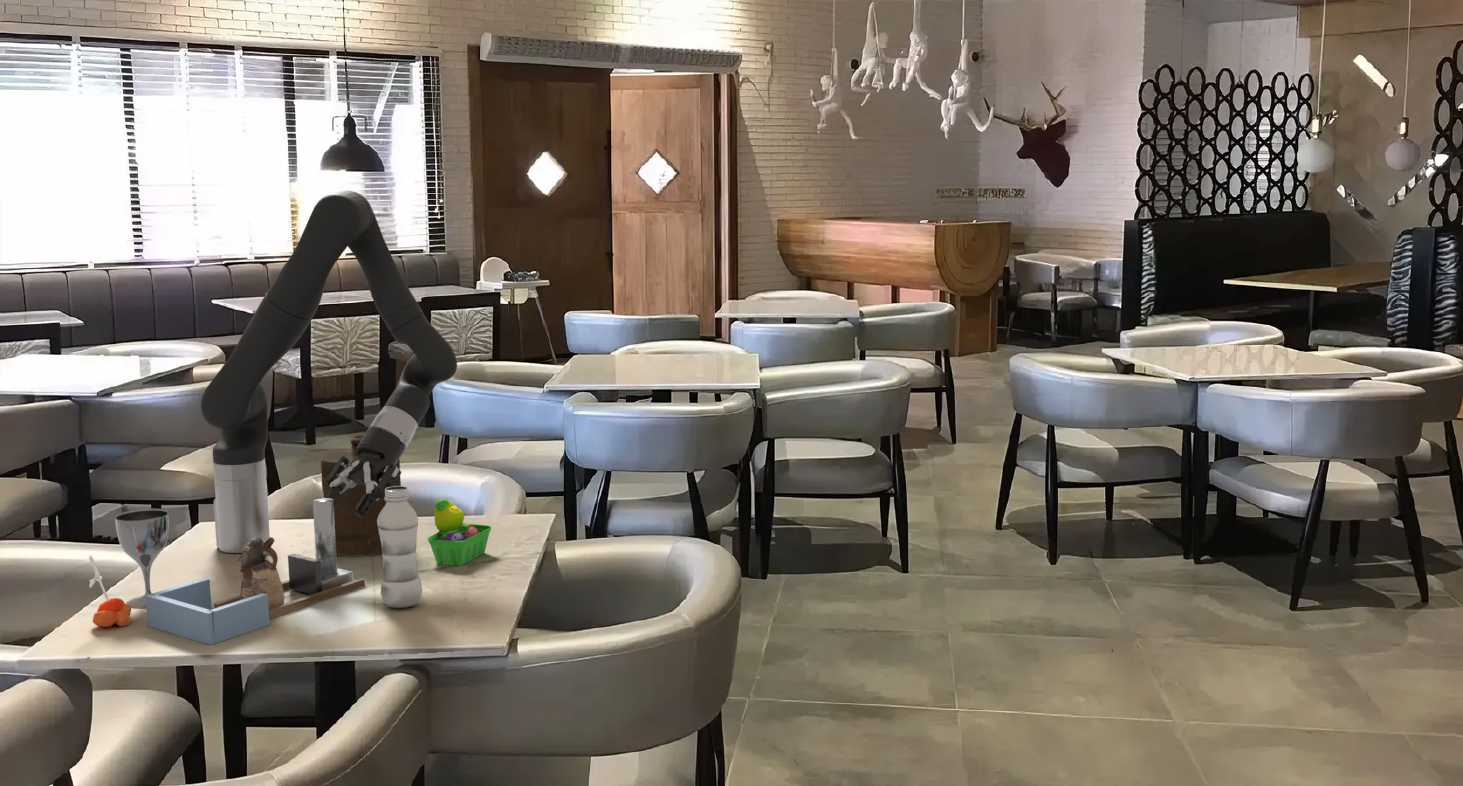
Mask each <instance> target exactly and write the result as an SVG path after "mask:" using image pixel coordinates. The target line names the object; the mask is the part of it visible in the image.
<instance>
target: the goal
mask: <svg viewBox="0 0 1463 786" xmlns="http://www.w3.org/2000/svg"><path fill="white" fill-rule="evenodd" d="M151 593H152V592H151ZM144 595H145V594H144ZM145 598H146V608H145V609H146V619H147V627H150V628H154V629H157V630H161V631H163V632H166V633H170V634H173V635H177V636H179V637H183V638H186V639H188V640H192V641H194V642H198V643H202V644H206V645H208V646H212V645H215V644H219V643H222V642H224V641H226V640H229V639H232V638H234V637H238V636H242V635H244V634H247V633H249V632H253V631H255V630H258V629H261V628H264V627H267V626H270V618H269V609H268V595H267V594H264V593H262V594H259V595H256V596H252V597H249V598H246V599H243V600H240V601H237V602H234V603H230V604H227V605H224V606H221V607H218V608H215V609H214V608H213V609H212V607H213V606H212V595H211V580H210V578H207V577H203V578H200V579H196V580H194V581H190V582H187V583H183V584H180V585H176V586H174V587H170V588H166V589H164V590H163V589H162V590H160V591H157V592H153V593H152V594H149V595H145Z"/></svg>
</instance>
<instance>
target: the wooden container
mask: <svg viewBox="0 0 1463 786" xmlns="http://www.w3.org/2000/svg"><path fill="white" fill-rule="evenodd" d="M364 435H365V434H362V433H359V434H354V435H353V436H351V438H350V444H351V447H350V448H344V449H338V450H333V451H330V452H327V453H324V454H322V455H321V456H320V470H321V471H320V472H321V499H322V498H324V497H325V495H326V494H327V492H328V491H329V489H330V486H329V485H328V484H326V483H325V479H326V478H327V476H328V475H329V474H330V472H331V471H332V469H333V468H334V466H335V465H336V463H337V462H338V461H339V459H340V458H341V457H342V456H345V457H347V458H348V459H350V460H353V459H354V458H355V457H356V456H357V455H358V449H357V447H358V444H359V443H360V441H361V440H362V438H363V436H364ZM395 466H396V467H397V468H398V469H399V470H400V471H401V468H400V467H401V463H400V459H399V460H398V462H397V464H396V465H395ZM347 478H348V479H350V475H348V476H347ZM335 479H337V475H336V476H335V477H334V479H333V481H334V480H335ZM350 480H351V479H350ZM343 484H345V483H344V482H342V483H341V484H340V485H339V486H340V487H341V486H342V485H343ZM386 486H387V485H386V484H385V486H384V488H383V489H384V490H385V488H386ZM395 486H402V483H401V476H400V477H399V478H398V480H397V482H396V484H395ZM364 494H367V493H366V486H364V485H361V486H359V485H356V486H355V487H353V488H348V489H347V490H345V491H344V492H343V493H341V496H340V498H339V499H338V501H337V502H336V504H335V506H334V520H335V538H336V556H341V557H342V556H343V557H365V556H366V557H367V556H375V555H381V554H383V552H382V546H381V540H380V535H379V530H378V525H377V519H378V515H379V514H380V512H381V510H382V509H383V507H384V506H385V505H386V501H385V500H384V499H383V498H379V500H377V501H375V502H374V504H373V505H372V507H371V509H370V510H369V512H368V513H367V514H366V515H365V517H364V518H361V517H359V516H357V515H356V514H355V513H354V509H355V508H356V506H357V504H358V503H359V501H360V500H361V498H362V496H363V495H364Z"/></svg>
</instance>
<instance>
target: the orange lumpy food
mask: <svg viewBox="0 0 1463 786" xmlns="http://www.w3.org/2000/svg"><path fill="white" fill-rule="evenodd" d="M88 557H89V558H88V559H89V562H90V564H91V566H92V569H93V571H94V577H93V578H92V579H89V586H88V587H89V589H92V587H93V586H94V585H95V583H96V582H99V583H98V584H99V586H100V588H101V591H102V592H103V593H102V594H104V598H105V599H106V600H105V601H104V602H102V603H101V604H99V606H98V608H97V611H96V612H94V614H93V617H92V623H93V624H94V625H95V626H97V627H98V626H99V627H103V628H108V627H109V628H110V627H113V625H114V624H115V625H117V626H119V627H126V626H128V625H129V624H130V623H131V621H132V619H131V618H130V616H131V613H132V608H131V605H128V604H125V603H126V602H125V601H124V600H123V599H121V598H119V597H113V598H109V596H108V595H107V592H106V589H105V587H104V584H103V581H102V580H103V576H101V574H100V572H99V570H98V568H97V565H96V562H95V560H94V557H93V556H92V555H89V556H88Z"/></svg>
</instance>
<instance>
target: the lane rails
mask: <svg viewBox="0 0 1463 786" xmlns="http://www.w3.org/2000/svg"><path fill="white" fill-rule="evenodd" d="M281 583H282V587H283V592H285V591H287V590H291V589H290V584H289V579H287V580H284V581H281ZM365 586H366V579H364V578H358V579H356V580H353V581H352V582H349V583H346V584H343V585H340V586H337V587H334V588H330V589H327V590H324V591H321V592H318V593H315V594H312V595H311V594H308V595H307V596H304V597H300V598H298V599H294V600H293V601H288V602H286V603H285V602H284V604H282V605H279V606H276V607H273V608H270V609H269V619H272V618H275V617H279V616H280V615H283V614H286V613H287V614H288V613H290V612H293V611H295V610H298V609H302V608H304V607H307V606H310V605H313V604H316V603H320V602H321V601H325V600H328V599H331V598H334V597H337V596H340V595H342V594H346V593H348V592H351V591H354V590H358V589H361V588H363V587H365ZM239 596H240V594H239V595H237V596H233V597H230V598H226V599H224V600H221V601H220V600H219V601H218V602H214V603H213V607H214V608H213V609H215V608H218V607H221V606H224V605H227V604H230V603H234V602H237V601H239Z"/></svg>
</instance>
